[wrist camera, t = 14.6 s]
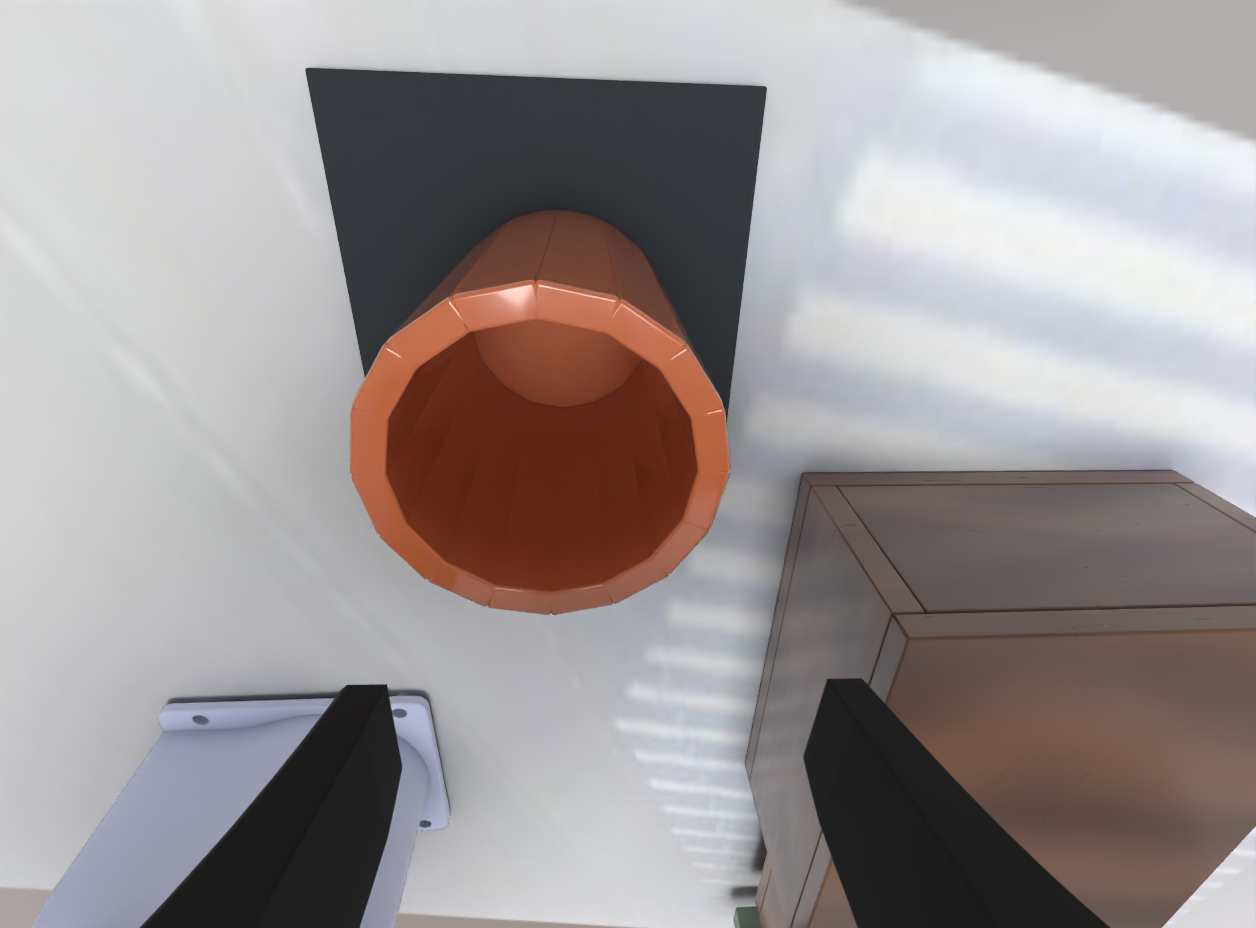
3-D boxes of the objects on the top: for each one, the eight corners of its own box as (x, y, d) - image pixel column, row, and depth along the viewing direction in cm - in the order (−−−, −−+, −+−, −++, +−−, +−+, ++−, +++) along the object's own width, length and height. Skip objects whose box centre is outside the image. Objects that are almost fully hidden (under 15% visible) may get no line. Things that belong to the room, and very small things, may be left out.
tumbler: (539, 448, 17) (510, 660, 10) (410, 290, 15) (261, 429, 8) (700, 349, 16) (789, 513, 9) (589, 161, 14) (595, 192, 7)
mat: (387, 469, 18) (383, 476, 18) (311, 69, 13) (304, 67, 13) (718, 467, 19) (720, 473, 18) (763, 87, 14) (767, 86, 13)
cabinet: (1021, 753, 27) (1152, 939, 21) (744, 764, 26) (795, 963, 20) (1174, 470, 20) (1444, 624, 14) (801, 472, 19) (908, 639, 13)
